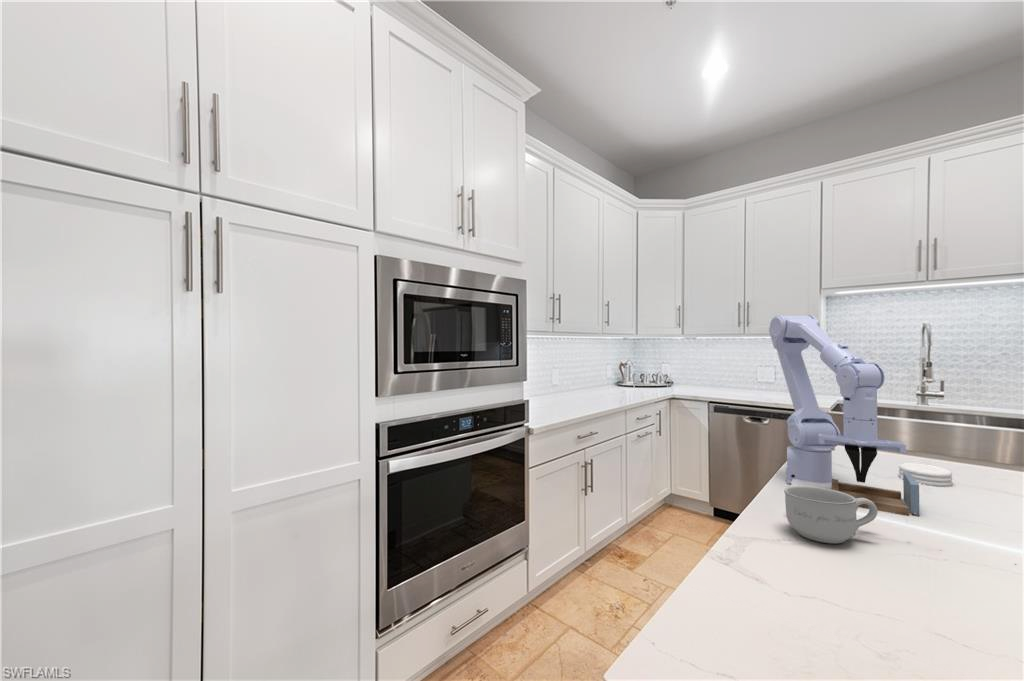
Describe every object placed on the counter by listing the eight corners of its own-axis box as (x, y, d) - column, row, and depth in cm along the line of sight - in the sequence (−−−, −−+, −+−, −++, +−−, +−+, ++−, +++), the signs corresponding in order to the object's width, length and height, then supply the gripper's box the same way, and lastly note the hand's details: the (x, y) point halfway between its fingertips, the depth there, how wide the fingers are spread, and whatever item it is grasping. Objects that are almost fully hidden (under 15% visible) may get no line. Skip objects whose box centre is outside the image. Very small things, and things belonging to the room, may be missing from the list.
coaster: (902, 473, 117) (902, 460, 117) (954, 482, 109) (954, 468, 109) (895, 480, 110) (895, 466, 110) (950, 490, 103) (950, 476, 103)
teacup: (787, 542, 75) (787, 496, 75) (781, 519, 85) (781, 479, 85) (889, 560, 69) (889, 511, 69) (870, 534, 78) (870, 490, 78)
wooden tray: (832, 509, 90) (832, 492, 90) (831, 493, 100) (831, 478, 100) (909, 523, 83) (909, 505, 83) (900, 505, 92) (900, 489, 92)
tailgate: (911, 517, 83) (911, 484, 83) (903, 501, 92) (903, 471, 92) (919, 519, 82) (919, 485, 82) (910, 503, 91) (910, 472, 91)
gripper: (818, 417, 93) (819, 479, 93) (908, 424, 84) (909, 493, 84) (819, 413, 99) (819, 471, 99) (903, 419, 90) (903, 483, 90)
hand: (860, 481), depth 92 cm, fingers closed
